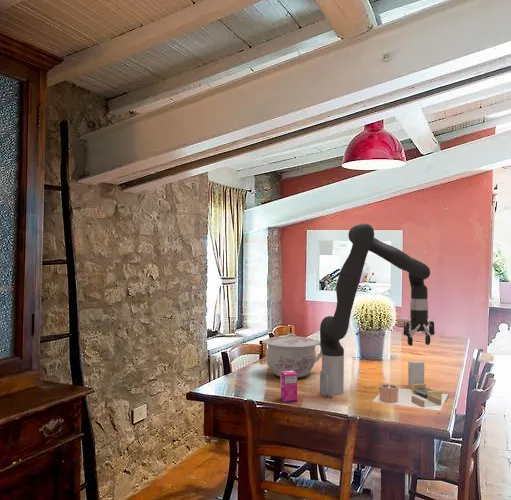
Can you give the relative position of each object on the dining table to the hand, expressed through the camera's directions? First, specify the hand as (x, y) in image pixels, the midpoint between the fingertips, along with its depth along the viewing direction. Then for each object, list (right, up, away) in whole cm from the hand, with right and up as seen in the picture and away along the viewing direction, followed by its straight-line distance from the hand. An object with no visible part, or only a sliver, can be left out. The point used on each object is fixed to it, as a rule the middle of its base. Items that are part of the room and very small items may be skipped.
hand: (419, 345), depth 234 cm
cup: (-19, -19, -21) cm, 34 cm away
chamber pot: (-55, -20, +25) cm, 64 cm away
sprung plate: (-1, -18, -13) cm, 22 cm away
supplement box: (-59, -20, -18) cm, 65 cm away
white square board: (-8, -20, -17) cm, 27 cm away
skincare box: (-1, -20, +2) cm, 20 cm away
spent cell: (-19, -18, -21) cm, 33 cm away
